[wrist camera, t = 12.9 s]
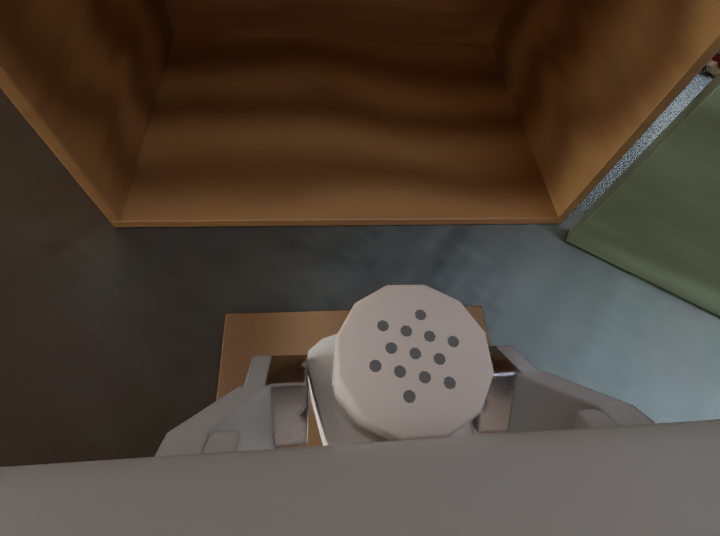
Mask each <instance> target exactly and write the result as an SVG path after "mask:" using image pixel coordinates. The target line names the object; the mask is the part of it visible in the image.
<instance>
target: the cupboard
mask: <svg viewBox="0 0 720 536" xmlns="http://www.w3.org/2000/svg"><path fill="white" fill-rule="evenodd" d="M719 50H720V0H0V88H1V89H2V90H3V92H4V93H5V94H6V95H7V96H8V98H9V99H10V100H11V101H12V103H13V104H14V105H15V106H16V107H17V109H18V110H19V111H20V112H21V114H22V115H23V116H24V117H25V118H26V120H27V121H28V122H29V123H30V124H31V126H32V127H33V128H34V129H35V131H36V132H37V133H38V134H39V135H40V137H41V138H42V139H43V140H44V142H45V143H46V144H47V145H48V146H49V148H50V149H51V150H52V151H53V153H54V154H55V155H56V156H57V157H58V159H59V160H60V161H61V162H62V164H63V165H64V166H65V167H66V168H67V170H68V171H69V172H70V173H71V175H72V176H73V177H74V178H75V179H76V181H77V182H78V183H79V184H80V186H81V187H82V188H83V189H84V190H85V192H86V193H87V194H88V195H89V197H90V198H91V199H92V200H93V201H94V203H95V204H96V205H97V206H98V208H99V209H100V210H101V211H102V212H103V214H104V215H105V216H106V217H107V219H108V220H109V221H110V222H111V223H112V225H113V226H114V227H216V226H334V225H452V224H561V223H563V222H564V220H565V219H566V218H567V217H568V216H569V215H570V214H571V213H572V212H573V211H574V210H575V208H576V207H577V206H578V205H579V204H580V203H581V202H582V201H583V200H584V199H585V197H586V196H587V195H588V194H589V193H590V192H591V191H592V190H593V189H594V188H595V186H596V185H597V184H598V183H599V182H600V181H601V180H602V179H603V178H604V177H605V175H606V174H607V173H608V172H609V171H610V170H611V169H612V168H613V167H614V166H615V164H616V163H617V162H618V161H619V160H620V159H621V158H622V157H623V156H624V154H625V153H626V152H627V151H628V150H629V149H630V148H631V147H632V146H633V145H634V143H635V142H636V141H637V140H638V139H639V138H640V137H641V136H642V135H643V134H644V132H645V131H646V130H647V129H648V128H649V127H650V126H651V125H652V124H653V123H654V121H655V120H656V119H657V118H658V117H659V116H660V115H661V114H662V113H663V112H664V110H665V109H666V108H667V107H668V106H669V105H670V104H671V103H672V102H673V101H674V99H675V98H676V97H677V96H678V95H679V94H680V93H681V92H682V91H683V90H684V88H685V87H686V86H687V85H688V84H689V83H690V82H691V81H692V80H693V79H694V77H695V76H696V75H697V74H698V73H699V72H700V71H701V70H702V69H703V68H704V66H705V65H706V64H707V63H708V62H709V61H710V60H711V59H712V58H713V57H714V55H715V54H716V53H717V52H718V51H719Z"/></svg>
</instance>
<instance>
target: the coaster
mask: <svg viewBox="0 0 720 536" xmlns="http://www.w3.org/2000/svg"><path fill="white" fill-rule="evenodd" d="M465 308H466V310H467V311H468V312H469V313H470V315H471V316H472V317H473V318H474V319H475V321H476V322H477V323H478V324H479V325H480V327H481V328H482V329H483V330H484V332H485V334H486V339H487V343H488V346H491V345H490V341H489V337H488V333H487V328H486V324H485V320H484V316H483V311H482V307H481V306H466V307H465ZM350 311H351V310H336V311H303V312H271V313H238V314H226V316H225V325H224V335H223V344H222V353H221V362H220V371H219V380H218V390H217V399H216V401H217V400H219V399H220V398H222V397H223V396H225V395H226V394H228V393H229V392H231V391H232V390H234V389H235V388H237V387H241V386H244V383H245V380H246V377H247V374H248V371H249V368H250V365H251V362H252V359H253V357H254V356H265V355H272V356H273V355H308V351H309V350H310V349H311V348H312V347H313V346H314V345H316V344H317V343H318V342H319V341H320V340H321V339H323V338H326V337H329V336H332V335H335V334H337V333H338V332H339V330H340V329H341V327H342V325H343V323H344V321H345V320H346V318H347V316H348V314H349V313H350ZM492 434H507V433H481V434H478V433H477V431H476V429H475V428H474V436H477V435H492ZM310 446H323V444H322V440H321V437H320V433H319V429H318V425H317V421H316V417H315V413H314V410H313V406H312V402H311V396H310V389H309V417H308V445H300V446H289V447H278V448H275V449H279V448H294V447H310Z"/></svg>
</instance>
